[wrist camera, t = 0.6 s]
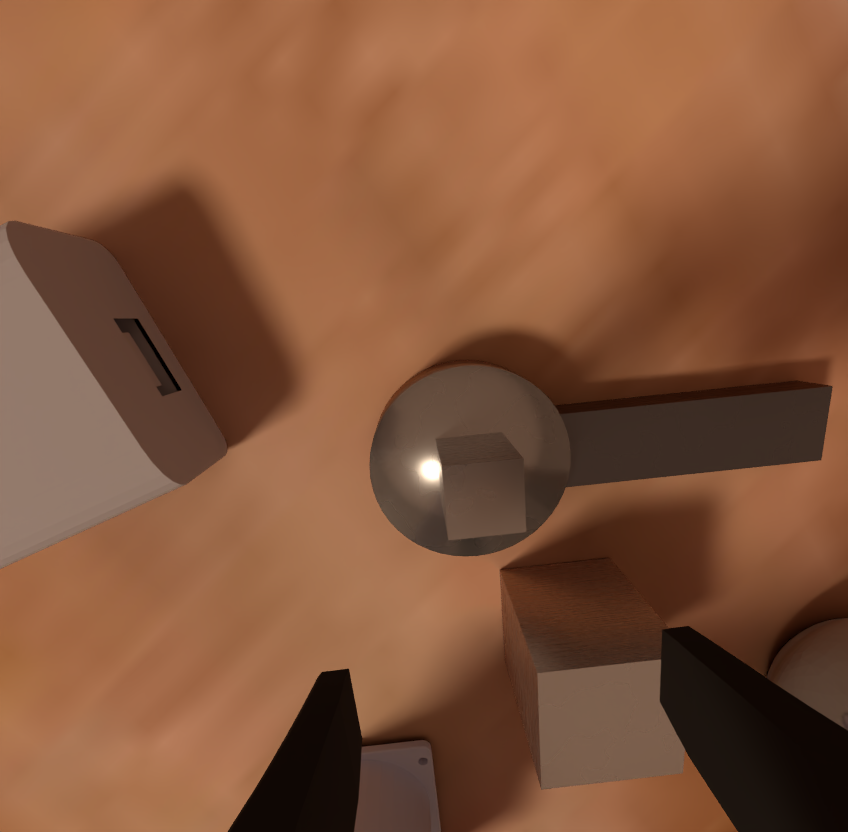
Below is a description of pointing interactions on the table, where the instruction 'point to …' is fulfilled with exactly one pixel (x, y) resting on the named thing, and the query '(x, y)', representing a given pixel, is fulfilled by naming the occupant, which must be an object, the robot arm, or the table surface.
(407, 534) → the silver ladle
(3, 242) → the charger
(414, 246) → the table surface
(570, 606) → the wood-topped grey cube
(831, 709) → the teacup
